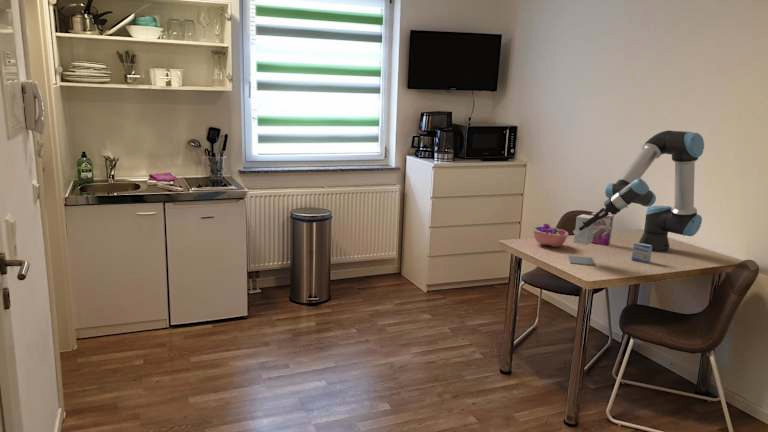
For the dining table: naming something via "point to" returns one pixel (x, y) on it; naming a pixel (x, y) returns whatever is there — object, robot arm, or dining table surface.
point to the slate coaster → (581, 260)
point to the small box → (587, 234)
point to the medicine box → (641, 252)
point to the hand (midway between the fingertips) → (577, 231)
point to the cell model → (549, 235)
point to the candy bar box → (602, 230)
